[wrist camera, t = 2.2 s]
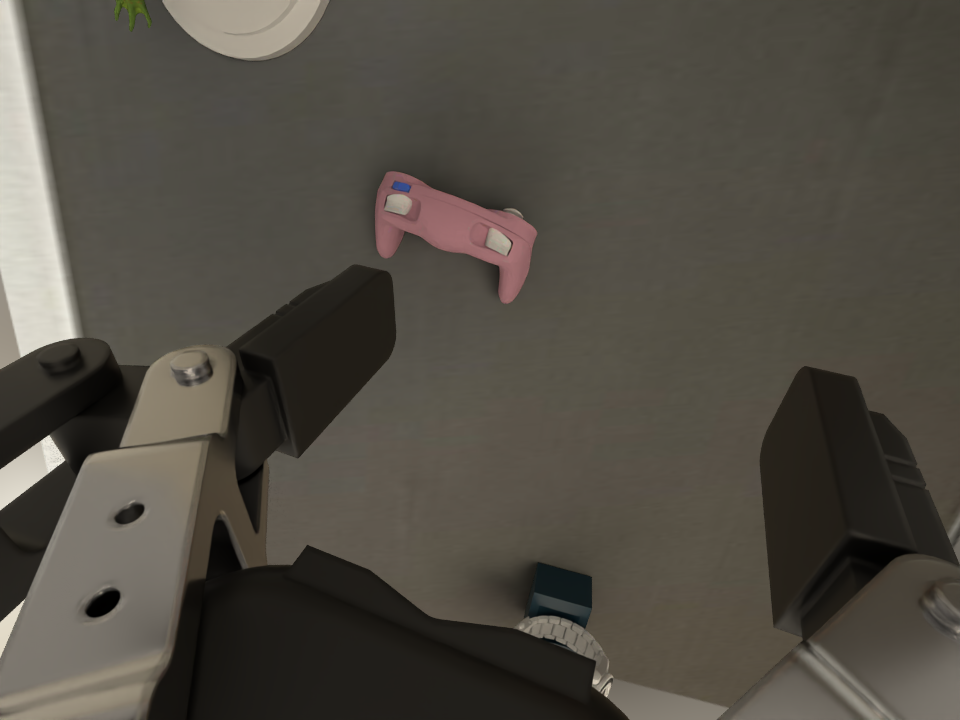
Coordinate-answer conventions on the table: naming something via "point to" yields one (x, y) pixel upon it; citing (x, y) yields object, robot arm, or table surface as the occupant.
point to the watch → (565, 617)
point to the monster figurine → (240, 23)
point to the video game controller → (454, 228)
